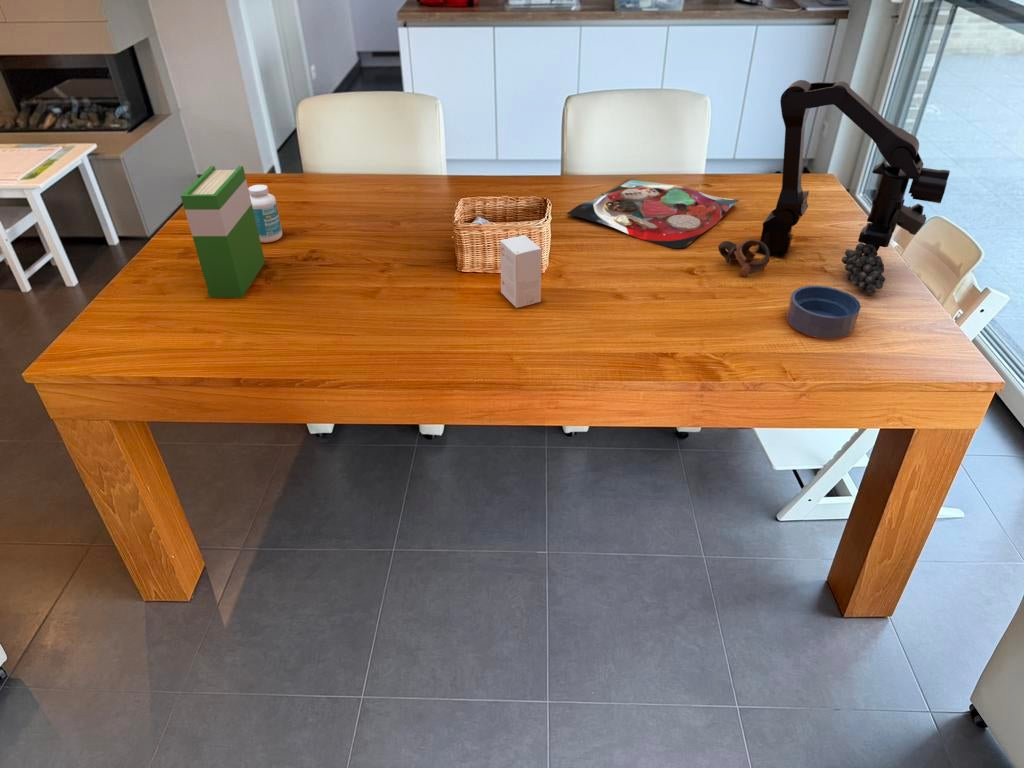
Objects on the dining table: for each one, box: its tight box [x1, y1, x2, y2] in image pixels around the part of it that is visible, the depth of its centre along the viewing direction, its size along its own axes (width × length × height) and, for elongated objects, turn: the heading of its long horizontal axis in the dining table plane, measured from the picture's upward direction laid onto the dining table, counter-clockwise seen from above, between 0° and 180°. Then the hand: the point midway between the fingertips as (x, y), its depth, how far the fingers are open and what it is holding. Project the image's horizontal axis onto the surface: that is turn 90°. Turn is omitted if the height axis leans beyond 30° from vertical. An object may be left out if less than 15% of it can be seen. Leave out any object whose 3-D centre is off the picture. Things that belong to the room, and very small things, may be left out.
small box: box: [499, 234, 543, 309], centre depth 161 cm, size 8×6×13 cm
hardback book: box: [180, 165, 266, 299], centre depth 166 cm, size 18×7×24 cm, turn 179°
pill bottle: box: [248, 184, 283, 244], centre depth 188 cm, size 8×7×14 cm
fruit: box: [841, 242, 886, 296], centre depth 166 cm, size 9×8×15 cm
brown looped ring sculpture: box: [717, 238, 771, 277], centre depth 174 cm, size 12×10×8 cm
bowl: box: [786, 285, 862, 340], centre depth 153 cm, size 13×13×6 cm
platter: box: [565, 179, 740, 250], centre depth 202 cm, size 35×35×2 cm
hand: (870, 258), depth 172 cm, fingers closed
